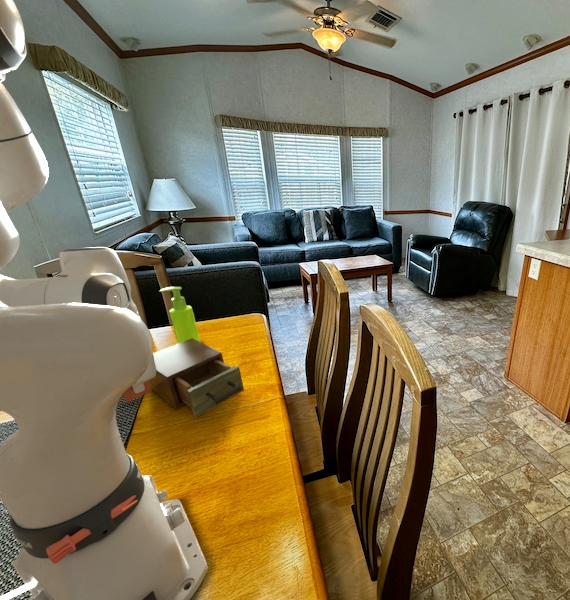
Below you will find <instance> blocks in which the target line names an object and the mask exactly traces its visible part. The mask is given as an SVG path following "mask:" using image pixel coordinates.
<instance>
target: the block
mask: <svg viewBox="0 0 570 600" xmlns="http://www.w3.org/2000/svg"><path fill="white" fill-rule="evenodd" d="M144 386H145V390H144V391H142V392H139V393H135V392H134V391H133V390H132V388H131V387H129V388H128V389H127V390H126V391H125V392H124V393H123V395H122V396H121V397H120V398H122V399H124V401H126V402H127V403H129V402H131V401H134V400H136V399H139V398H141V397H142V396H145V395H147V394H149V393H152V392H153V390H152V389H151V387H150V384H149V381H146V382H144Z"/></svg>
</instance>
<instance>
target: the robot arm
mask: <svg viewBox="0 0 570 600" xmlns="http://www.w3.org/2000/svg"><path fill="white" fill-rule="evenodd" d="M24 27H25V26H24V23H23V19H22V16H21V13H20V11H19V9H18V7H17V5H16V3H15V1H14V0H0V271H1V270H2V269H3V268H5V267H6V266H7V265H9V263H11V261H12V260H13V259H14V258H15V257H16V254H17V253H18V251H19V248H20V243H21V241H20V234H19V232H18V230H17V228H16V227H15V224H14V223H13V222H12V219H11V218H10V216H9V215H8V212H10V211H12V210H15V209H17V208H19V207H21V206H23V205H25V204H26V203H29V202H30V201H31V200H33V199H34V198H35V197H37V196H38V195H39V194H40V193H41V192H42V191H43V190H44V188H45V186H46V184H47V182H48V180H49V179H48V178H49V173H50V172H49V167H48V161H47V160H46V157H45V154H44V152H43V149H42V148H41V146H40V143H39V142H38V140H37V139H36V136H35V135H34V133H33V131H32V129H31V127H30V125H29V123H28V122H27V120H26V118H25V117H24V115H23V113H22V111H21V110H20V108H19V106H18V104H17V103H16V101H15V100H14V98H13V97H12V95H11V94H10V92H9V91H8V90H7V88H6V87H5V84H4V83H3V82H4V81H5V80H6V73H10V72H14V71H15V70H17V69H18V68H19V67H20V65H21V64H22V63H23V61H24V60H25V58H26V56H27V45H26V37H25V36H26V35H25V28H24ZM58 257H59V265H60V271H61V272H60V273H59V274H58V276H50V277H49V276H48V277H37V278H27V279H25V278H24V279H16V278H11V277H8V276H4V275H3V274H1V273H0V412H4V413H6V414H7V415H9V416H10V417H11V418H13V419H14V421H15V423H16V425H17V430H15V431H14V432H13V433H11V434H10V435H9V436H8V437H6V438H5V439H4V440H3V441H2V442H1V444H0V501H1V503H2V504H3V505H4V507H5V509H6V510H7V512H8V513H9V515H10V516H9V524H10V527H11V529H12V534H13V536H14V537H15V539H16V541H17V542H18V543H19V544H20V545H21V546H22V547H21V549H20V550H19V552H18V554H17V555H16V557H15V560H14V561H13V563H12V566H13V568H14V569H15V571H16V572H17V574H18V576H19V577H20V579H21V580H22V581H23V583H24V584H23V585H21V586H19V587H18V588H15V589H13V590H10V591H9V592H7V593H5V594H3V595H0V600H11V599H12V598H14V597H16V596H19V595H20V594H23V593H25V592H27V591H29V592H30V593H31V596H30V597H29V598H28V599H27V600H191V598H192V597H193V596H194V595H195V593H196V592H197V591H198V589H199V587H200V585H201V584H202V582H203V581H204V579H205V577H206V575H207V573H208V571H209V566H208V563H207V559H206V557H205V555H204V552H203V550H202V548H201V546H200V542H199V541H198V538H197V536H196V533H195V531H194V529H193V526H192V523H191V521H190V519H189V517H188V515H187V512H186V509H185V508H184V505H183V503H182V501H181V500H180V499H177V498H175V499H170V500H166V499H168V498H169V496H168V492H167V491H166V490H165V488H163V489H161V490H160V491H159V490H158V488H157V485H156V482H155V480H154V478H153V477H154V476H153V475H149V474H142V473H141V470H140V467H139V465H138V464H137V462H136V461H135V460H134V459H133V456H132V455H131V454H129V453H127V451H126V448H125V445H124V442H123V440H122V436H121V434H120V431H119V427H118V422H117V407H118V404H119V401H120V399H121V398H122V397H121V396H122V395H123V393H124V392H125V391H126V390H127V389H128V388H129V387H131V388H132V390H133V391H134V392H135V393H139V392H142V391H144V390H145V386H144V382H146V381H149V380H151V379H153V378H155V376H156V366H155V361H154V357H153V353H154V351H153V340H152V334H151V331H150V330H149V328H148V326H147V325H146V323H145V322H144V321H143V320H142V318H141V316H140V313H139V310H138V307H137V305H136V303H135V302H134V300H133V299H132V293H131V292H132V288H131V284H130V281H129V278H128V275H127V272H126V270H125V268H124V266H123V264H122V261H121V260H120V258H119V256H118V254H117V252H116V251H115V250H114V249H113V248H109V247H105V246H95V247H92V246H91V247H89V246H88V247H75V248H66V249H63V250H62V251H60V252H59V255H58ZM188 587H189V588H188Z"/></svg>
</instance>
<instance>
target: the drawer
mask: <svg viewBox="0 0 570 600" xmlns="http://www.w3.org/2000/svg"><path fill="white" fill-rule="evenodd" d="M240 369H241V368H240V366H238V365H235V366H233V367H231V365H229V364H227V363H225V362H224V363H223V362H221V361H219V360H218V359H214V360H212V361H209V362H207V363H205V364H203V365H201V366H199V367H196V368H194V369H192V370H190V371H188V372H185V373H183V374H181V375H179V376H177V377H174V378H172V380H173V383H174V387H175V390H176V393H177V396H178V398H179V399H180V400H181V401H183V402H184V403H186V404H185V405H186V406H188V407H190V408H191V410H192V413H193V416H194V417H195V418H198V417H200V416H201V415H203V414H205V413H207V412H209V411H210V410H212V409H214V408H216V407H218V406H219V405H221V404H223V403H225V402H227V400H230V399H231V398H233V397H235V396H237V395H239V394H240V393H241V392H244V391H245V387H244V384H243V379H242V374H241V370H240Z"/></svg>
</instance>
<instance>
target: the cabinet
mask: <svg viewBox="0 0 570 600" xmlns="http://www.w3.org/2000/svg"><path fill="white" fill-rule="evenodd" d="M153 357H154V361H155V366H156V376H155V378H153V379H151V380H149V384H150V387H151V390H152V392H154V393H156V394H157V395H158V396H160V397H161V398H162V399H164V400H165V401H166V402H168V403H169V404H170V405H171V406H173V407H174V408H175V409H179V408H180V407H182V406H184V405H187V404H186V403H184V402H183V401H181V400H180V399H179V398H178V396H177V393H176V390H175V387H174V383H173V380H172V378H174V377H177V376H179V375H181V374H183V373H185V372H188V371H190V370H192V369H194V368H196V367H199V366H201V365H203V364H205V363H207V362H209V361H212V360H214V359H218V360H219V361H221V362H223V363H225V361H224V356H223V353H222V352H221V351H218V350H217V349H215V348H213V347H211V346H210V345H209V346H208V345H207V344H205V343H204V342H202V341H201V342H199V341H197V340H195V339H193V338H191V339H189V340H186V341H183V342H181V343H178V342H177V343H175V344H173V345H171V346H168V347H165V348H163V349H159V350H157V351H155V352H153Z"/></svg>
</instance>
